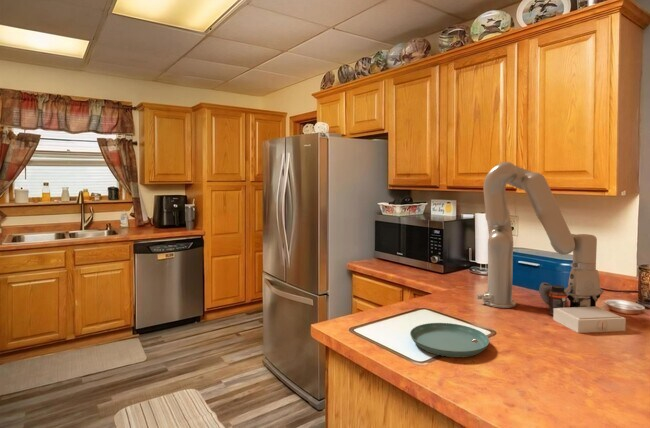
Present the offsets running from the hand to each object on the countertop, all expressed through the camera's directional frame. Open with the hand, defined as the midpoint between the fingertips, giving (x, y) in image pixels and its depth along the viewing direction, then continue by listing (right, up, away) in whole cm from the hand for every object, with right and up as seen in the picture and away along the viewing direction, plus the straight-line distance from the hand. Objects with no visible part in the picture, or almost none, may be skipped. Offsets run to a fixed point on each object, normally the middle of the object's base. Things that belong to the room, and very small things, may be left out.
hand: (582, 310), depth 152 cm
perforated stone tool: (-5, 0, +15) cm, 16 cm away
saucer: (-61, -5, -27) cm, 67 cm away
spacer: (0, -1, 0) cm, 1 cm away
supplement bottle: (-11, -1, -2) cm, 11 cm away
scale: (-7, -2, -13) cm, 15 cm away
